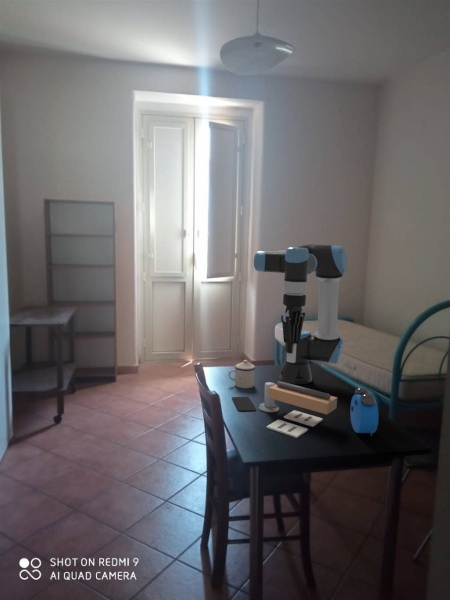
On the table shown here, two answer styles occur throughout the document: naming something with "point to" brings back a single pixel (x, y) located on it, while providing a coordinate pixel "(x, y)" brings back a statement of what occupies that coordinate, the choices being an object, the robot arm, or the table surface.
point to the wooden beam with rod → (299, 397)
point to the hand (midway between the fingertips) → (290, 361)
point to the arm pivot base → (265, 409)
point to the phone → (243, 404)
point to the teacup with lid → (243, 375)
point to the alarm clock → (364, 412)
